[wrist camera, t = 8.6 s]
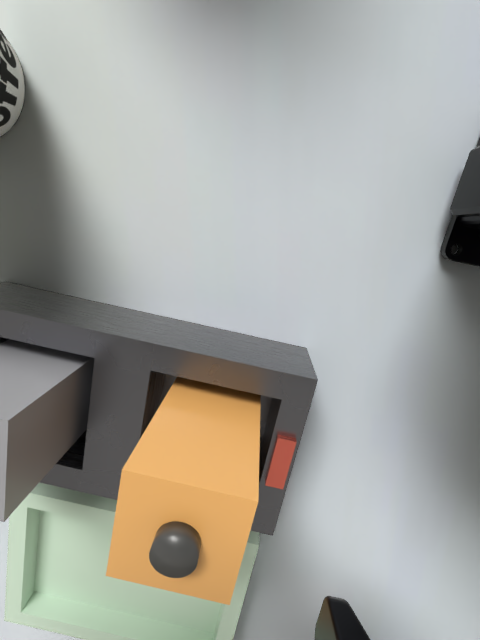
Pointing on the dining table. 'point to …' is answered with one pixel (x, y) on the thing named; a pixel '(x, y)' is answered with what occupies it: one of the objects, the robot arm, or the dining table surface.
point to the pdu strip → (161, 384)
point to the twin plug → (38, 414)
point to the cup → (10, 86)
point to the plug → (190, 493)
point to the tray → (99, 577)
